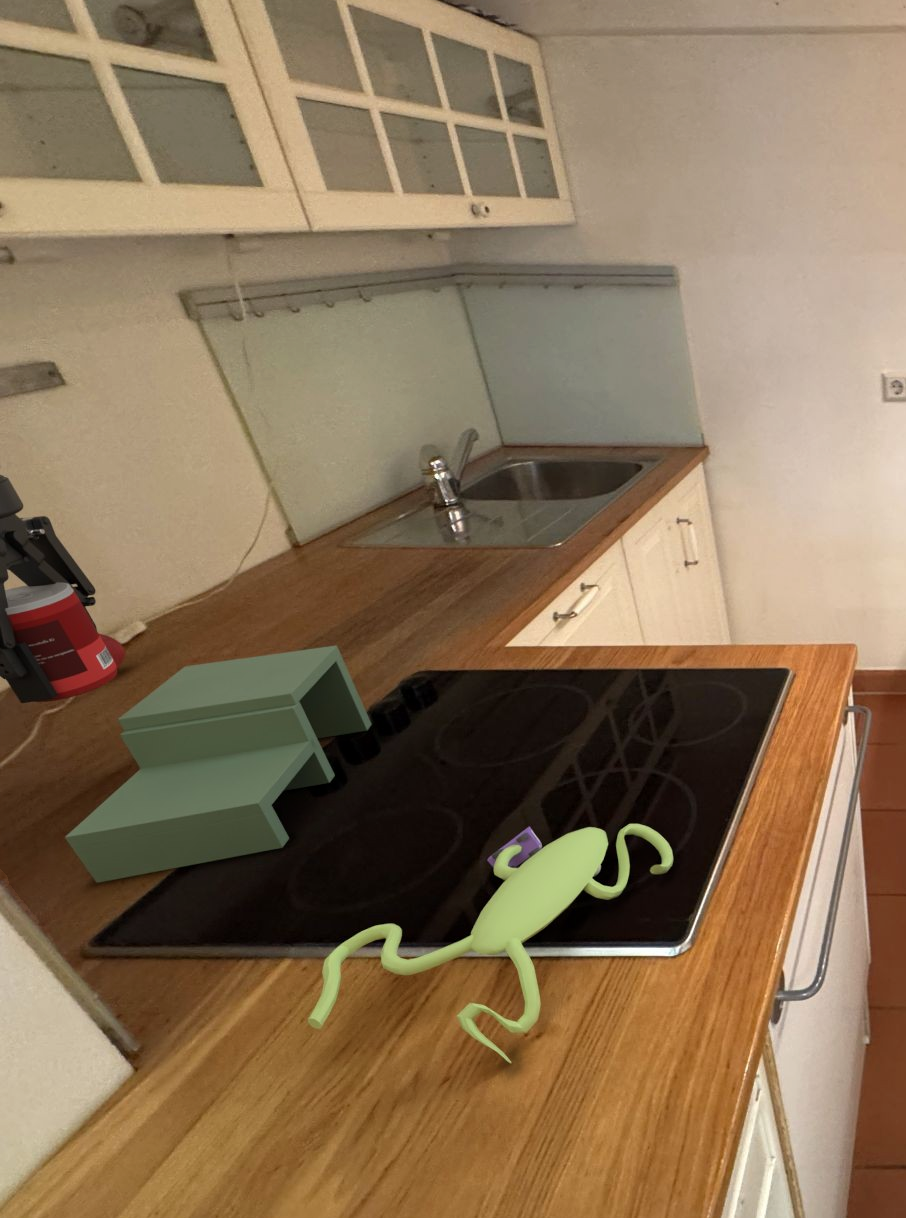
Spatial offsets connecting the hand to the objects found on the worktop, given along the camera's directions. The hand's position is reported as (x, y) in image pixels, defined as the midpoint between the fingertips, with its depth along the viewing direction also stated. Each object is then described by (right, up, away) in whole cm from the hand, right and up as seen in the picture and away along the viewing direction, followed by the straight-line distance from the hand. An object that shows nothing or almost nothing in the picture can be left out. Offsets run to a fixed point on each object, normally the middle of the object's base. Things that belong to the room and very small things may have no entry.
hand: (69, 679), depth 85 cm
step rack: (+17, -14, +4) cm, 22 cm away
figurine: (+60, -22, -17) cm, 66 cm away
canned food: (0, -1, 0) cm, 1 cm away
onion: (-30, -2, +31) cm, 43 cm away
